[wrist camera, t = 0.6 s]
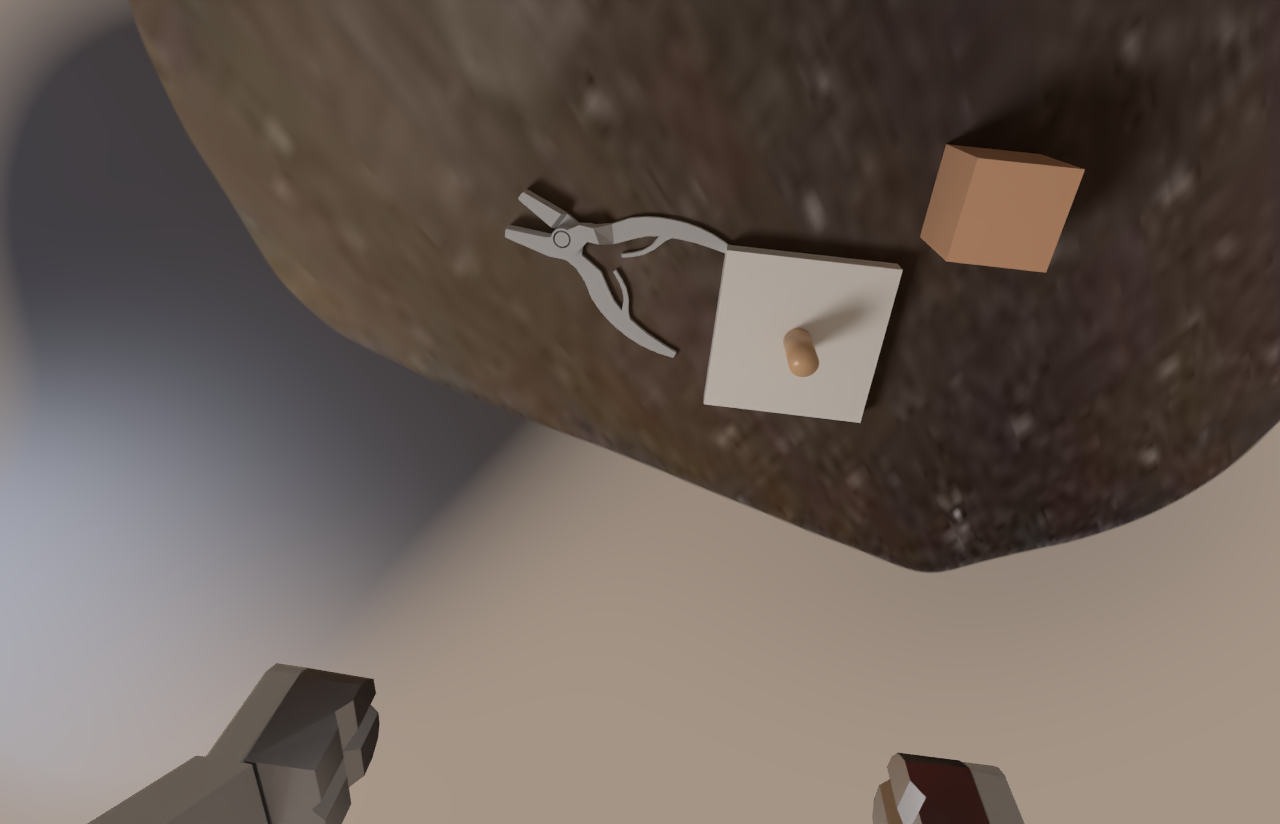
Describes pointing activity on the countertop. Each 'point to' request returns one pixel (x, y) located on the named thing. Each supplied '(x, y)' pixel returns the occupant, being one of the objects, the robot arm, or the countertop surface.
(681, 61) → the countertop surface
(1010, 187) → the tan cardboard cube
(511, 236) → the pliers
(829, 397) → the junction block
